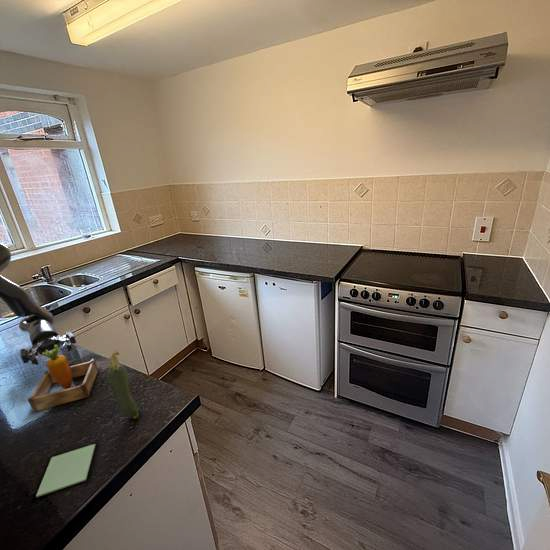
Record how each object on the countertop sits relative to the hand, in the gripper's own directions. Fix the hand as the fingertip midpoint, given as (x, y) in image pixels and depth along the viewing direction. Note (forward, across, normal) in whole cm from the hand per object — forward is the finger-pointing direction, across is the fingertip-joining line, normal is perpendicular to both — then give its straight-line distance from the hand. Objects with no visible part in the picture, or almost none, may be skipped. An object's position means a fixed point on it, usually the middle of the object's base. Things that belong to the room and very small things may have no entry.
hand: (53, 355), depth 92 cm
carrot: (+7, 0, +9) cm, 12 cm away
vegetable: (+34, +9, +9) cm, 37 cm away
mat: (+38, -6, +9) cm, 39 cm away
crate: (+7, 0, +9) cm, 12 cm away
